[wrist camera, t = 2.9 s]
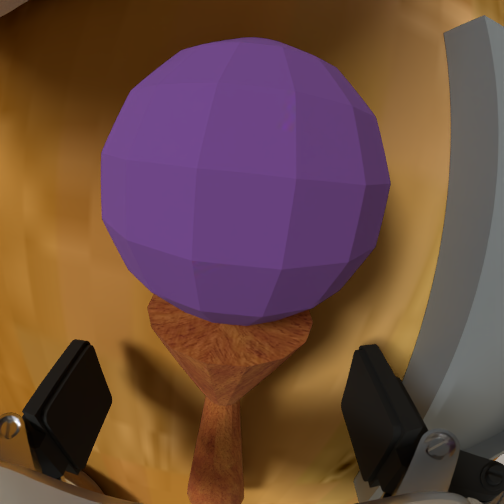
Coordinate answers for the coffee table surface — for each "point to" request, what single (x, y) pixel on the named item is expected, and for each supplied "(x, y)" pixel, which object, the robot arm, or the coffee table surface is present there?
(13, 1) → the container
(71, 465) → the robot arm
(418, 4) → the coffee table surface
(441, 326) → the tray
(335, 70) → the kendama
